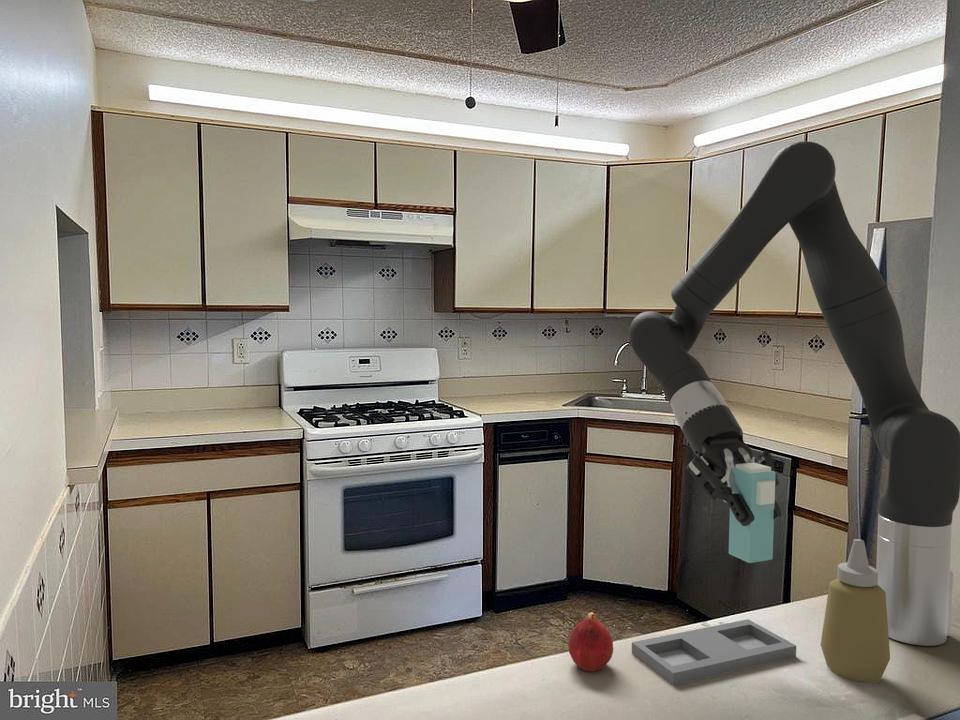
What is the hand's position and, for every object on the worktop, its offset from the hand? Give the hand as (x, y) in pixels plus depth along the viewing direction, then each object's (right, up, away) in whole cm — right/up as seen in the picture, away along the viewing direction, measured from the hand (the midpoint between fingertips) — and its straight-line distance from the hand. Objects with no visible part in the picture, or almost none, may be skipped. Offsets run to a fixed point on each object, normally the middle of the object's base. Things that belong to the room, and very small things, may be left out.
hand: (762, 520), depth 96 cm
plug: (-1, -5, +2) cm, 6 cm away
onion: (-23, -20, -2) cm, 31 cm away
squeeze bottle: (+11, -20, -3) cm, 23 cm away
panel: (-6, -19, +1) cm, 20 cm away
